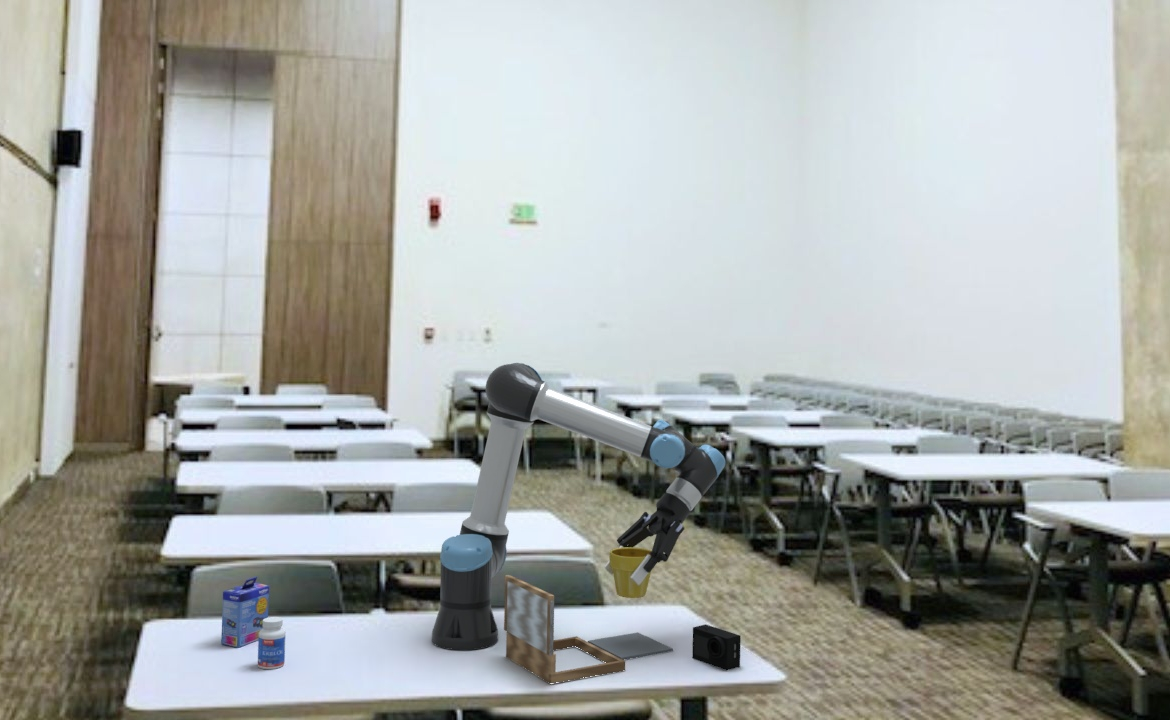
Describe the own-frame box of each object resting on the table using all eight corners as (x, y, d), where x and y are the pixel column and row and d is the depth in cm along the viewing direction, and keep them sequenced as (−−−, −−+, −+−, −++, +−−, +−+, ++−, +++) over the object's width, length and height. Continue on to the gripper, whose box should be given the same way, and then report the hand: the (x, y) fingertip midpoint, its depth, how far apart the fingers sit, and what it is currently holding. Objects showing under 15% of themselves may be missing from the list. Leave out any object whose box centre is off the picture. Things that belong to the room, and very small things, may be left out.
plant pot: (655, 600, 217) (656, 557, 217) (608, 599, 217) (609, 556, 217) (653, 589, 227) (653, 547, 227) (608, 588, 228) (609, 546, 228)
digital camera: (687, 659, 215) (688, 627, 215) (704, 654, 218) (705, 623, 218) (722, 672, 207) (723, 639, 207) (739, 667, 210) (740, 634, 210)
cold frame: (503, 657, 214) (505, 575, 213) (576, 645, 223) (578, 566, 223) (548, 685, 197) (550, 596, 196) (625, 670, 206) (626, 585, 206)
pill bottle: (259, 671, 202) (260, 624, 202) (255, 663, 206) (256, 617, 206) (287, 667, 204) (287, 621, 204) (282, 660, 209) (283, 614, 209)
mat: (587, 643, 225) (587, 640, 225) (637, 634, 232) (637, 632, 232) (621, 660, 213) (621, 657, 213) (673, 651, 220) (673, 648, 220)
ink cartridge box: (239, 648, 216) (240, 583, 216) (219, 645, 218) (220, 580, 218) (269, 636, 225) (270, 574, 225) (250, 633, 227) (251, 571, 227)
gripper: (717, 520, 220) (659, 597, 212) (658, 505, 240) (603, 576, 232) (699, 498, 218) (640, 576, 210) (641, 485, 237) (584, 555, 229)
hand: (620, 576), depth 221 cm, fingers closed on plant pot, 10 cm apart
